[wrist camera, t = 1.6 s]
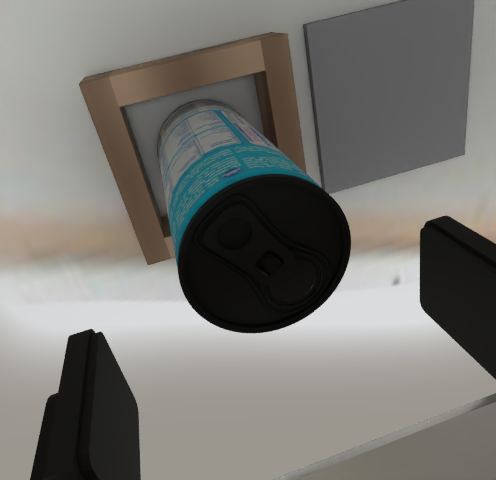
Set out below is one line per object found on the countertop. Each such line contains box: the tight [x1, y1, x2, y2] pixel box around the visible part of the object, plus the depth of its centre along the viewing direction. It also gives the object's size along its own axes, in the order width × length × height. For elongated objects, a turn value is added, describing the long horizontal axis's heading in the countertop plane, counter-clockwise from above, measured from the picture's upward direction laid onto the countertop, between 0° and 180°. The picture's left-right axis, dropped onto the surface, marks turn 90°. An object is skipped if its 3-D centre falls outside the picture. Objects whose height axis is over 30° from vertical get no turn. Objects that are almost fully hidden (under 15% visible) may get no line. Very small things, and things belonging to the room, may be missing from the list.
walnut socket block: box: [79, 32, 306, 265], centre depth 25 cm, size 11×11×3 cm
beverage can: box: [157, 100, 351, 333], centre depth 20 cm, size 6×6×15 cm
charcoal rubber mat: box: [304, 0, 474, 194], centre depth 28 cm, size 11×11×1 cm
